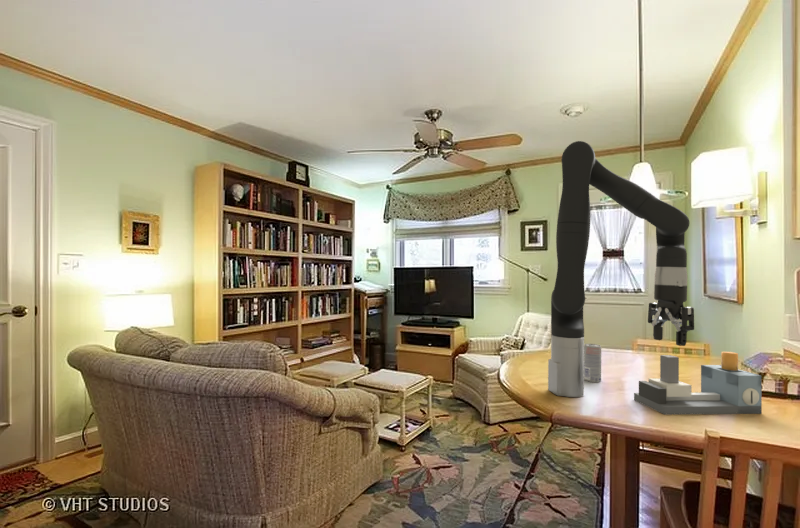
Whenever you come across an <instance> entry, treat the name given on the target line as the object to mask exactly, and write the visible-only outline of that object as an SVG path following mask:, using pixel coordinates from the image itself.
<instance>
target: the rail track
mask: <svg viewBox="0 0 800 528" xmlns="http://www.w3.org/2000/svg"><path fill="white" fill-rule="evenodd" d="M762 387H763V386H762V375H761V374H758V373H754V372H750V371H747V370H742V369H739V368H738V370H736V371H735V370H726V369H722V368H721V364H701V365H700V392H692V397H666V389H665V388H662V387H660V386H657V385H655V384H652V383H650V382H649V381H647V380H638V392H633V400H634V401H635V402H638V403H639V404H642V405H644V406H646V407H647V408H650V409H652V410H654V411H656V412H658V413H661V414H662V415H664V416H665V415H667V416H668V415H672V414H673V415H746V414H748V415H752V414H754V415H755V414H757V415H759V414H761V415H762V413H763V412H762V405H763V404H762V394H763V393H762V392H763V391H762Z"/></svg>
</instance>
